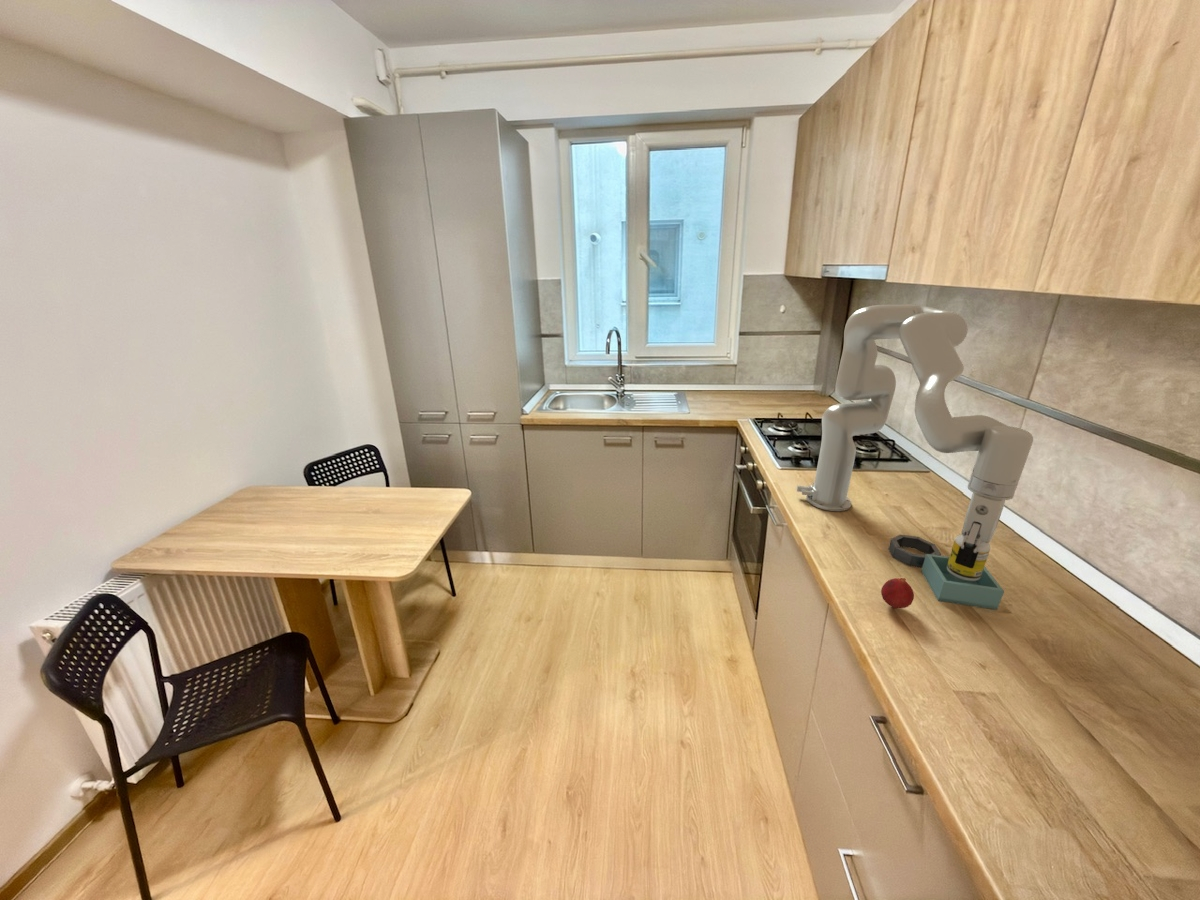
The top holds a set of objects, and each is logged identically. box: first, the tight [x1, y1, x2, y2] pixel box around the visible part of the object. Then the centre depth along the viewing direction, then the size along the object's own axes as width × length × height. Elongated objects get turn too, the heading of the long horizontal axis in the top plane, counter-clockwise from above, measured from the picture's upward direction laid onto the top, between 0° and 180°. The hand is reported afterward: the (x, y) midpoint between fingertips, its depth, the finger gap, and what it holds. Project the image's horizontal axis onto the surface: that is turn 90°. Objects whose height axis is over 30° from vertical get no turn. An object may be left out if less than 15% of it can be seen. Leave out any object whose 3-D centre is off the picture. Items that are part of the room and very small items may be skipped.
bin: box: [920, 554, 1005, 611], centre depth 105 cm, size 11×11×5 cm
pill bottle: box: [947, 533, 991, 581], centre depth 103 cm, size 6×6×11 cm
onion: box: [880, 576, 915, 610], centre depth 99 cm, size 6×6×8 cm
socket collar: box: [887, 533, 942, 569], centre depth 118 cm, size 10×10×3 cm
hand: (967, 557), depth 103 cm, fingers closed on pill bottle, 6 cm apart
